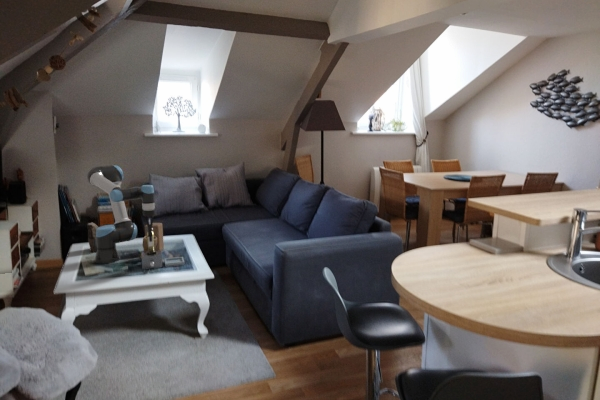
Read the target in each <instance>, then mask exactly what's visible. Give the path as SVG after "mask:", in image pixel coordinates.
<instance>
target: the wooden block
mask: <svg viewBox="0 0 600 400" xmlns="http://www.w3.org/2000/svg"><path fill="white" fill-rule="evenodd" d="M152 223H153V225H152V228H153V233H154V236H155V237H157V245H156V248H155V251H159V250H161V252H162V251H163V250H164V248H165V247H164V229H163V223H162V222H152ZM147 228H148V226H147V224H146V225H144V237H145V236H147Z"/></svg>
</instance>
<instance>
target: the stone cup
mask: <svg viewBox="0 0 600 400" xmlns="http://www.w3.org/2000/svg"><path fill="white" fill-rule="evenodd" d="M156 245H157V237H155V236H154V250H155V248H156ZM142 248H143V251H142V252H148V243H147V236H145V235H144V237H143V238H142ZM139 258H140V259H141V260H142V253H141V254H139Z"/></svg>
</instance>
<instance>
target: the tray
mask: <svg viewBox="0 0 600 400" xmlns="http://www.w3.org/2000/svg"><path fill="white" fill-rule="evenodd" d="M163 259H164V267H165V268H166V267H167V268H168V267H169V268H170V267H178V266H179V267H180V266H185V260H184V256H176V257H167V258H165V257H164V258H163Z"/></svg>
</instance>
